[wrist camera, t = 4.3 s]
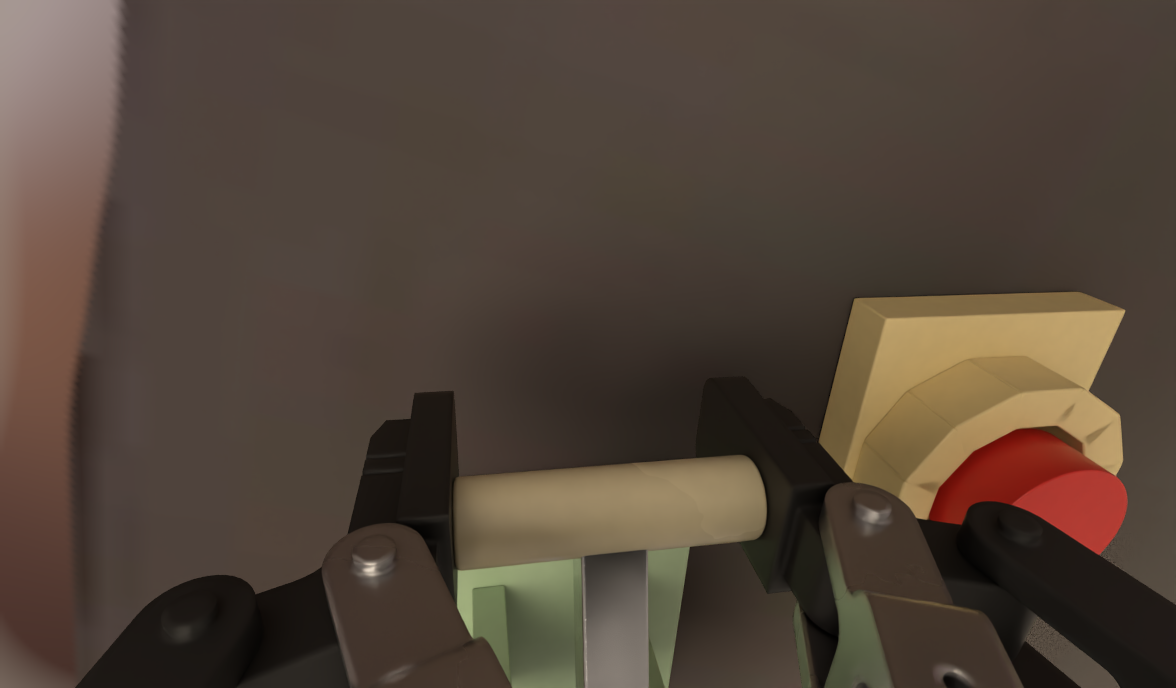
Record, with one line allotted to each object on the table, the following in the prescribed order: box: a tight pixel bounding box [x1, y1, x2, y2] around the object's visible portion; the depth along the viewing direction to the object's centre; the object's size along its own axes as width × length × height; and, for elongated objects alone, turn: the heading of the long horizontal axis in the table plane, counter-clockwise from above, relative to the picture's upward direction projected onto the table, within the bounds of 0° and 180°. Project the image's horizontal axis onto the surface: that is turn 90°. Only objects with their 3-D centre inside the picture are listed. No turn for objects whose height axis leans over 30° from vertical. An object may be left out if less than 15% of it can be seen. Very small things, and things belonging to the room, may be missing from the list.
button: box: [929, 428, 1127, 555], centre depth 17 cm, size 4×4×2 cm
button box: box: [819, 292, 1125, 520], centre depth 19 cm, size 10×8×4 cm
